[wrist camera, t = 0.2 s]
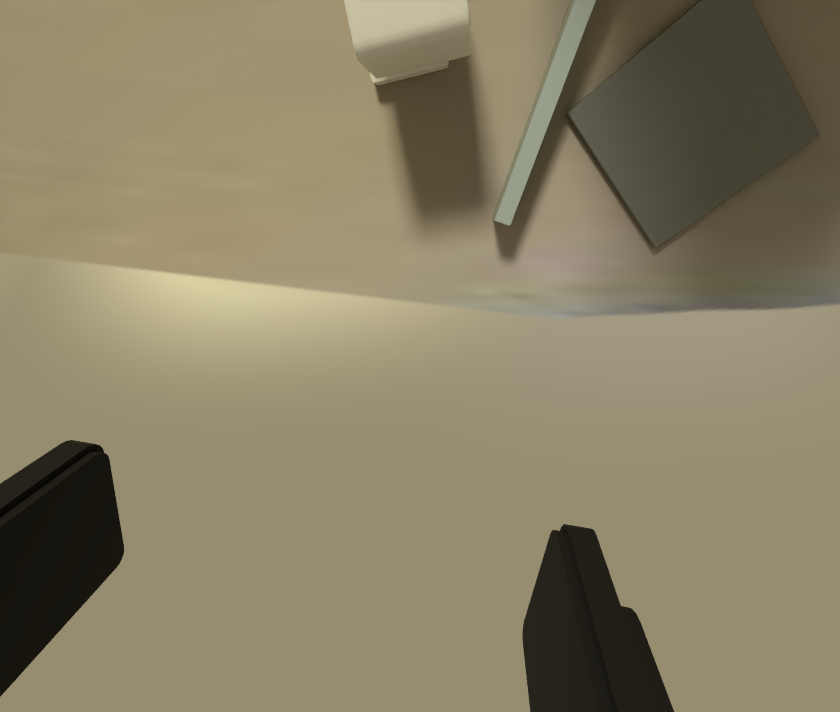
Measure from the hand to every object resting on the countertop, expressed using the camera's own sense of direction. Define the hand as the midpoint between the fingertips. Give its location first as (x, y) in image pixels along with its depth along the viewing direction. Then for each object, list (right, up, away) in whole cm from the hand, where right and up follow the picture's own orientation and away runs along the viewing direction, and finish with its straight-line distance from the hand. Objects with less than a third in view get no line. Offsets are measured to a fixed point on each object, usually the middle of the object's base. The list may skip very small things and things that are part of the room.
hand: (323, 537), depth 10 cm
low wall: (+11, +23, +22) cm, 34 cm away
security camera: (+2, +27, +22) cm, 35 cm away
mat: (+21, +20, +23) cm, 37 cm away
